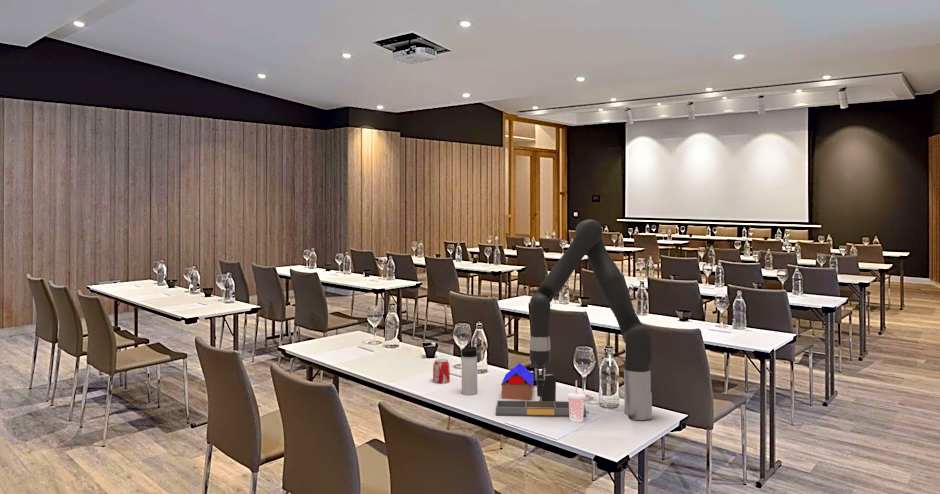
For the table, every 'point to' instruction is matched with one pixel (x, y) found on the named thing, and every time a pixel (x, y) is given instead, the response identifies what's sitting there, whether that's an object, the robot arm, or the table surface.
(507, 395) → the house
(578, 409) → the beverage cup
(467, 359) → the travel mug
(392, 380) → the table surface
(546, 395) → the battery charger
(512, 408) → the tray
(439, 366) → the soda can
